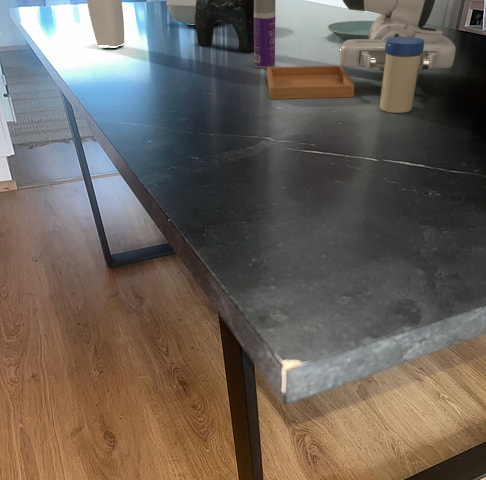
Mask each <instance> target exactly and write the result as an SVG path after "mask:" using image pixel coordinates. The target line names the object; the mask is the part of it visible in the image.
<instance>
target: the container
mask: <svg viewBox="0 0 486 480" xmlns="http://www.w3.org/2000/svg"><path fill="white" fill-rule="evenodd" d="M253 56H254V57H253V62H254V63H253V65H254V68H256V69H263V70H264V69H266V70H267V67H276V0H254V52H253Z"/></svg>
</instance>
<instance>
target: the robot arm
mask: <svg viewBox="0 0 486 480" xmlns="http://www.w3.org/2000/svg"><path fill="white" fill-rule="evenodd" d="M342 2H343V4H344V5H345V7H346V8H347V9H348V10H350V11H351V10H352V11H356V12H357V11H358V12H369V13H373V14H377V15H379V16H378V17H376V19H374V20H373V21H374V23H373V24H372V26H371V28H370V31H369V37H368V39H350V40H344V41H343V43H342V44H341V45H340V46H339V47H338V51H339V53H340V57H339V58H340V59H339V64H340V65H339V66H342V67H346V68H366V69H376V68H377V69H378V70H379V71H382V72H384V66H385V58H386V52H385V46H386V41H387V39H388V38H392V37H415V38H420V39H423V40H424V49H423V52H422V53H421V57H420V63H419V69H421V70H431V69H446V70H447V69H450V68H452V67H453V65H454V62H455V56H456V50H457V49H456V45H455V44H454V42H453V41H452V40H451V39H450V38H448V37H447V36H444V35H443V34H444V32H443V30H441V29H439V28H438V29H437V28H432V27H424V26H425V25H426V24H427V22H428V20H429V19H430V16H431V14H432V11H433V8H434V5H435V2H436V0H342Z"/></svg>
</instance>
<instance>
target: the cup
mask: <svg viewBox="0 0 486 480" xmlns="http://www.w3.org/2000/svg"><path fill="white" fill-rule="evenodd" d="M86 2H87V3H86V4H87V9H88V13H89V19H90V22H91V23H90V24H91V27H92V30H93V34H94V38H95V41H96V43H97V46H98V45H109V46H118V45H121V44H123V43H124V44H125V20H124V11H123V10H124V9H123V1H122V0H86ZM124 44H123V45H124Z"/></svg>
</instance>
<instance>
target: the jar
mask: <svg viewBox="0 0 486 480" xmlns="http://www.w3.org/2000/svg"><path fill="white" fill-rule="evenodd" d="M420 57H421V54H419V55H414V56H398V55H391V54H388V53H386V58H385V66H384V71H383V75H382V81H381V90H380V99H379V107H378V108H379V109H380V110H381V111H384V112H387V113H391V114H392V113H393V114H403V113H408V112H411V111H412V110H413V105H414V101H415V100H414V98H415V94H416V93H415V92H416V86H417V82H418V81H417V80H418V75H419V69H420V68H419V63H420Z"/></svg>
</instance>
